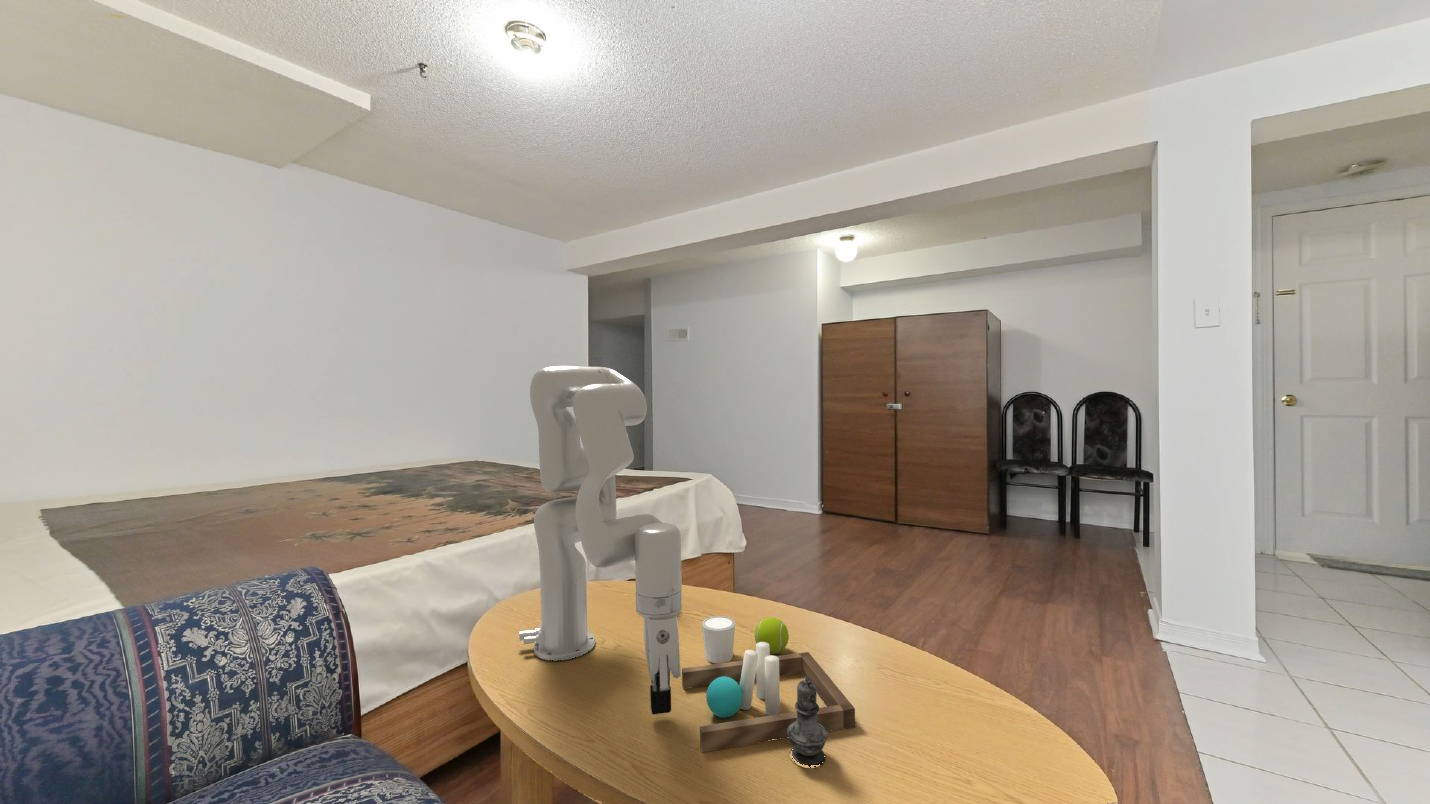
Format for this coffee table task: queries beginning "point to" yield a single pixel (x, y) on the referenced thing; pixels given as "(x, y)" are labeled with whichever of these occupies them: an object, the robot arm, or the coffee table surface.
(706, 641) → the white cup
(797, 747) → the dark gray figurine
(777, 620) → the tennis ball
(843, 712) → the bumper lane
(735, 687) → the ball
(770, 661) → the pin
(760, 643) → the pin
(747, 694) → the pin front
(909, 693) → the coffee table surface
